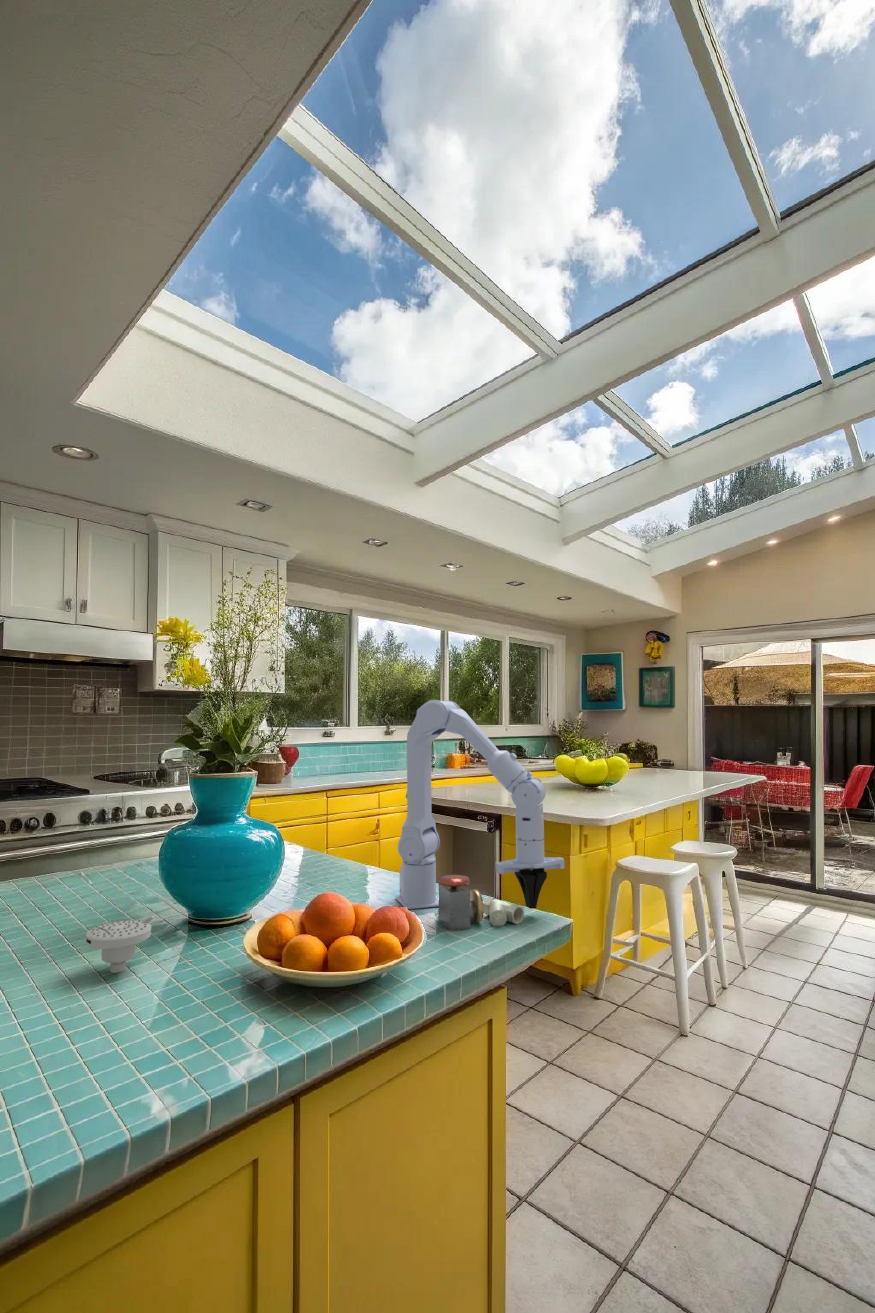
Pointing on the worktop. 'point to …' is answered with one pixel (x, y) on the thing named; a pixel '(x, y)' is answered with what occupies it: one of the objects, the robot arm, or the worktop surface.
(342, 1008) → the worktop surface
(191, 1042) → the worktop surface
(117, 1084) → the worktop surface
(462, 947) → the worktop surface
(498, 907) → the pipe fitting
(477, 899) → the grey block with discs
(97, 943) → the showerhead
